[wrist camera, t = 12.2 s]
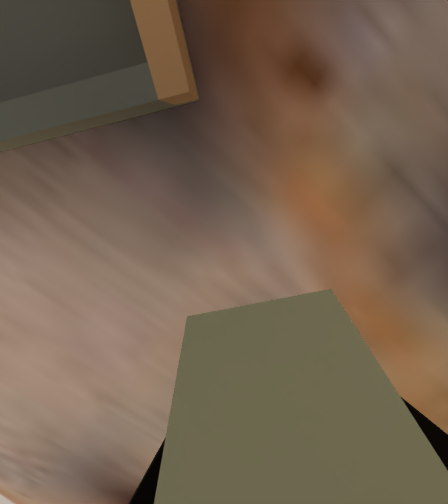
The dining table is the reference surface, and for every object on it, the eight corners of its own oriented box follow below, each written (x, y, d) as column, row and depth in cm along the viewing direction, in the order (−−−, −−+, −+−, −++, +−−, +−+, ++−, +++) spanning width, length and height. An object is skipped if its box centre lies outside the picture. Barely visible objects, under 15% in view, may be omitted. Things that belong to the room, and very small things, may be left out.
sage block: (331, 289, 9) (517, 579, 3) (339, 391, 10) (466, 685, 5) (187, 316, 9) (134, 616, 4) (219, 410, 11) (217, 702, 5)
